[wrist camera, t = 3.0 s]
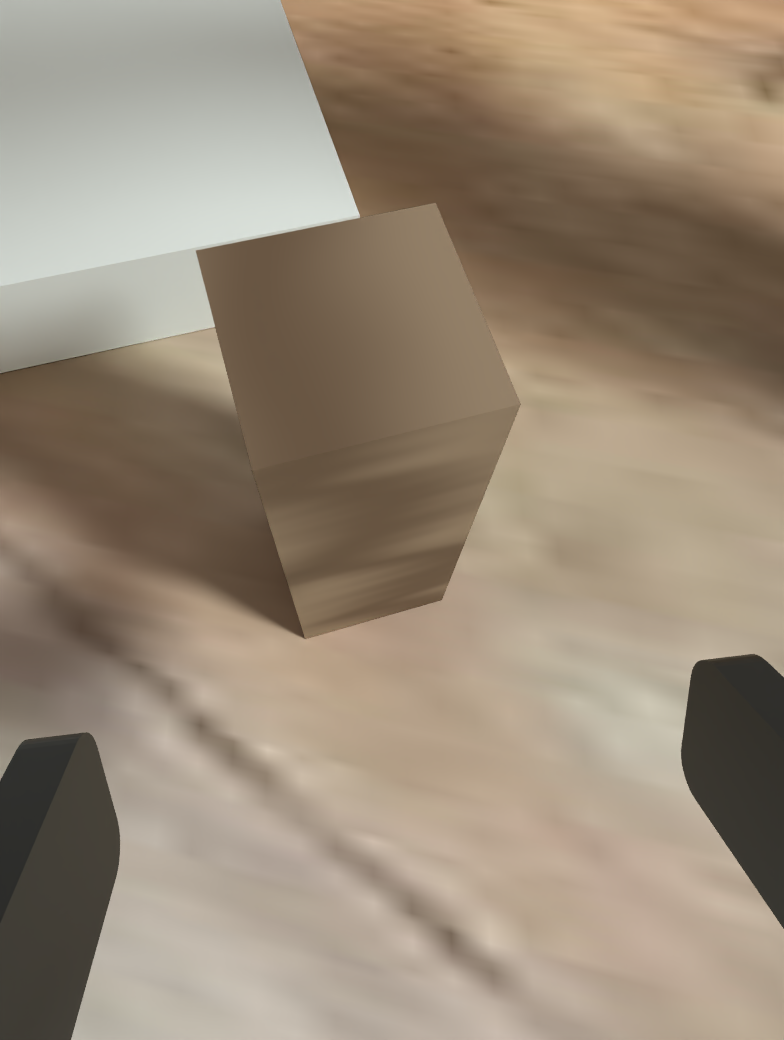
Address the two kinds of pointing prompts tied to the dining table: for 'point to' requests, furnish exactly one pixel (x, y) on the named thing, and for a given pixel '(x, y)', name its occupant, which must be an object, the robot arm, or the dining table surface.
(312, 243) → the walnut block
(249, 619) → the dining table surface
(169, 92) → the plinth
